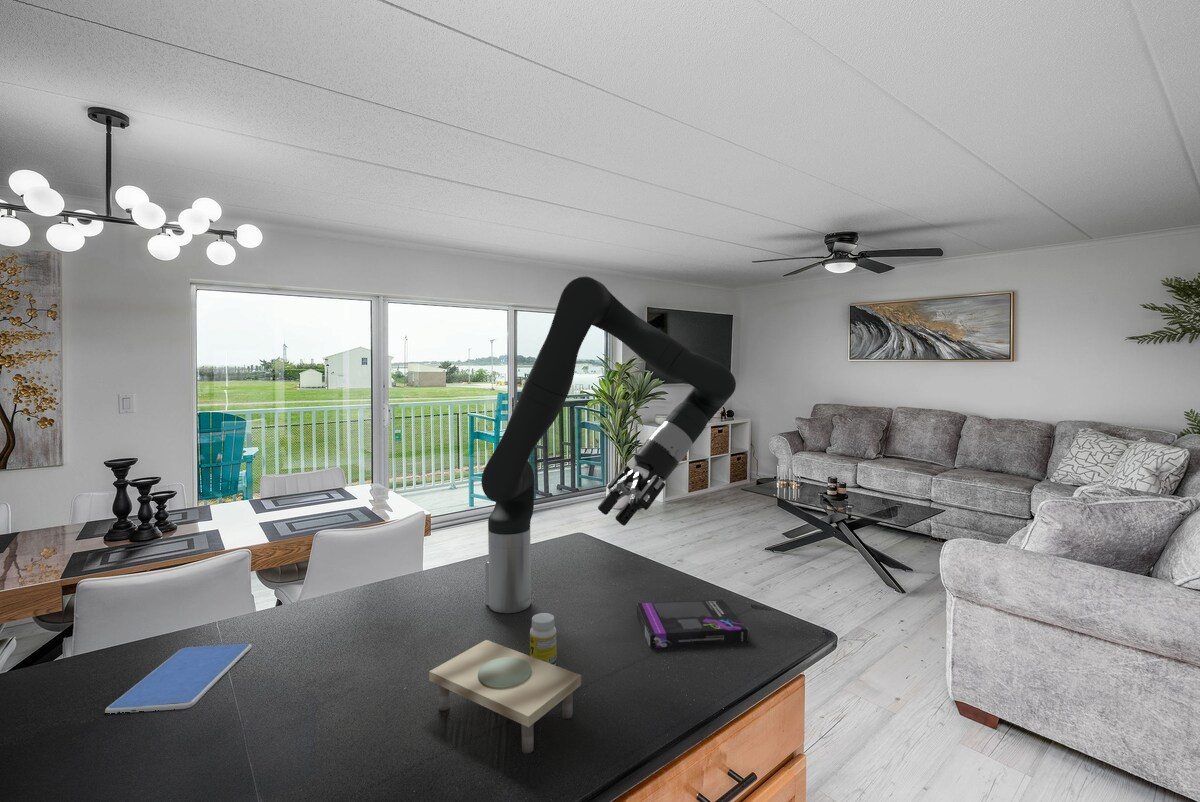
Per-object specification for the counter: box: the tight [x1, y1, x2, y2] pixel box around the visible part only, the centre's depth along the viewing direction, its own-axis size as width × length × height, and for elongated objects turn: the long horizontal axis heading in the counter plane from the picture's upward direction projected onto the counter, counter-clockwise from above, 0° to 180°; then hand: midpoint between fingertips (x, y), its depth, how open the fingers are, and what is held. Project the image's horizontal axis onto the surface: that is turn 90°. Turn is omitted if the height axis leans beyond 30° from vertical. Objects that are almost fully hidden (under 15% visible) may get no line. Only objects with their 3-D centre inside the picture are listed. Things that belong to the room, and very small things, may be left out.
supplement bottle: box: [529, 612, 558, 666], centre depth 97 cm, size 5×5×8 cm
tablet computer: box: [104, 643, 252, 715], centre depth 93 cm, size 19×13×1 cm, turn 7°
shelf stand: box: [428, 639, 582, 754], centre depth 84 cm, size 20×12×6 cm, turn 56°
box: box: [636, 599, 750, 649], centre depth 111 cm, size 14×4×20 cm
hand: (610, 517), depth 101 cm, fingers open, 8 cm apart
